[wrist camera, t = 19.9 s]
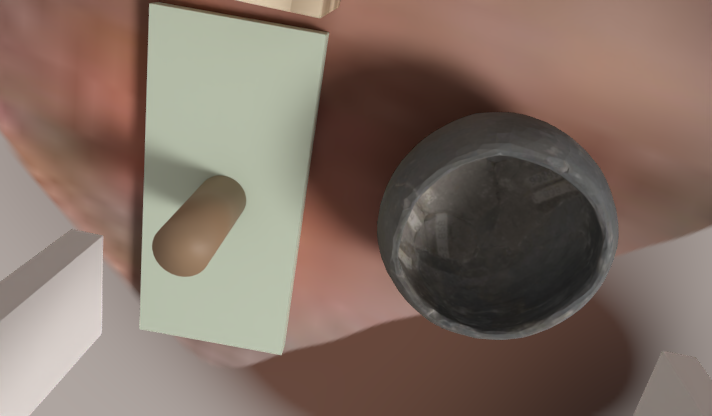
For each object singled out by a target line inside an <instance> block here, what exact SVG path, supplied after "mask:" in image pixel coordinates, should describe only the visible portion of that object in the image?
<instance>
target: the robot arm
mask: <svg viewBox="0 0 712 416" xmlns="http://www.w3.org/2000/svg"><path fill="white" fill-rule="evenodd" d="M102 279H103V235H98V234H93V233H88V232H83V231H78V230H73V229H71V230H70V231H68V232H67V233H66V234H64V235H63V236H62V237H60V238H59V239H57V240H56V241H55V242H53V243H52V244H51V245H49V246H48V247H47V248H45V249H44V250H43V251H41V252H40V253H38V254H37V255H36V256H34V257H33V258H32V259H30V260H29V261H28V262H26V263H25V264H24V265H22V266H21V267H20V268H18V269H17V270H15V271H14V272H13V273H11V274H10V275H9V276H7V277H6V278H5V279H3V280H2V281H1V282H0V416H29V415H30V414H31V413H32V412H33V411H34V410H35V409H36V408H37V406H38V405H39V404H40V403H41V402H42V401H43V400H44V398H45V397H46V396H47V395H48V394H49V393H50V392H51V391H52V389H53V388H54V387H55V386H56V385H57V384H58V383H59V381H60V380H61V379H62V378H63V377H64V376H65V375H66V374H67V372H68V371H69V370H70V369H71V368H72V367H73V366H74V365H75V363H76V362H77V361H78V360H79V359H80V358H81V357H82V355H83V354H84V353H85V352H86V351H87V350H88V349H89V348H90V346H91V345H92V344H93V343H94V342H95V341H96V340H97V338H98V337H99V336H100V335H101V334H102V284H103V283H102V282H103V281H102ZM634 416H712V380H711V378H710V377H709V375H708V374H707V373H706V371H705V370H704V368H703V367H702V365H701V364H700V363H699V361H698V360H697V358H695V357H691V356H686V355H682V354H676V353H671V352H667V351H662V352H661V355H660V357H659V359H658V361H657V364H656V366H655V368H654V370H653V373H652V375H651V377H650V379H649V382H648V384H647V386H646V388H645V391H644V393H643V395H642V398H641V400H640V402H639V404H638V406H637V409H636V411H635V413H634Z"/></svg>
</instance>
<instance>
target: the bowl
mask: <svg viewBox="0 0 712 416" xmlns="http://www.w3.org/2000/svg"><path fill="white" fill-rule="evenodd" d="M377 237H378V244H379V249H380V253H381V257H382V260H383V262H384V265H385V268H386V270H387V272H388V274H389V276H390V277H391V279H392V281H393V282H394V284H395V286H396V287H397V289H398V291H399V292H400V293H401V294H402V296H403V297H404V298H405V299H406V301H407V302H408V303H409V304H410V305H411V306H412V307H413V308H414V309H415V310H417V311H418V312H419V313H420V314H421V315H422V316H424V317H425V318H426V319H428V320H429V321H430V322H432V323H434V324H436V325H438V326H440V327H441V328H444V329H446V330H449V331H452V332H455V333H459V334H462V335H466V336H469V337H473V338H480V339H493V340H505V339H515V338H522V337H526V336H530V335H533V334H536V333H539V332H541V331H544V330H547V329H549V328H551V327H553V326H555V325H557V324H559V323H561V322H562V321H564V320H565V319H567V318H569V317H570V316H572V315H573V314H574V313H576V312H577V311H578V310H580V309H581V308H582V307H583V306H584V305H585V304H586V303H587V302H588V301H589V300H590V299H591V298H592V297H593V295H594V294H595V293H596V292H597V290H598V289H599V288H600V286H601V285H602V283H603V282H604V280H605V278H606V276H607V274H608V272H609V270H610V267H611V265H612V262H613V260H614V256H615V253H616V249H617V244H618V219H617V213H616V207H615V204H614V200H613V197H612V194H611V191H610V188H609V186H608V183H607V181H606V178H605V177H604V175H603V173H602V171H601V169H600V168H599V166H598V165H597V164H596V163H595V161H594V160H593V159H592V158H591V156H590V155H589V154H588V153H587V152H586V151H585V150H584V149H583V148H582V147H581V146H580V145H579V144H578V143H577V142H576V141H575V140H573V139H572V138H571V137H570V136H568V135H567V134H566V133H564V132H562V131H561V130H559V129H558V128H556V127H554V126H552V125H550V124H548V123H546V122H544V121H541V120H539V119H536V118H533V117H530V116H527V115H523V114H518V113H509V112H487V113H476V114H472V115H469V116H466V117H463V118H460V119H458V120H455V121H453V122H451V123H449V124H447V125H445V126H443V127H441V128H440V129H438V130H436V131H435V132H433V133H431V134H430V135H428V136H427V137H426V138H424V139H423V140H422V141H421V142H420V143H418V144H417V145H416V146H415V147H414V148H413V149H412V150H411V151H410V152H409V154H408V155H407V156H406V157H405V158H404V159H403V160H402V161H401V163H400V164H399V165H398V167H397V168H396V170H395V172H394V173H393V175H392V177H391V179H390V181H389V183H388V185H387V187H386V189H385V192H384V195H383V198H382V201H381V205H380V210H379V216H378V221H377Z"/></svg>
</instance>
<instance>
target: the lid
mask: <svg viewBox="0 0 712 416" xmlns="http://www.w3.org/2000/svg"><path fill="white" fill-rule="evenodd" d="M328 36H329V32H323V31H318V30H312V29H307V28H301V27H295V26H290V25H284V24H278V23H273V22H267V21H262V20H256V19H250V18H245V17H239V16H234V15H228V14H222V13H217V12H211V11H205V10H200V9H194V8H189V7H183V6H177V5H172V4H166V3H161V2H155V3H149V30H148V63H147V96H146V129H145V162H144V194H143V227H142V260H141V293H140V326H139V327H140V329H142V330H148V331H153V332H158V333H164V334H169V335H175V336H180V337H186V338H191V339H197V340H202V341H208V342H213V343H218V344H224V345H229V346H235V347H240V348H246V349H251V350H257V351H262V352H267V353H273V354H278V355H282V352H283V349H284V346H285V340H286V332H287V325H288V318H289V311H290V304H291V297H292V290H293V283H294V276H295V269H296V262H297V255H298V248H299V241H300V234H301V227H302V220H303V212H304V205H305V198H306V191H307V184H308V177H309V170H310V163H311V156H312V149H313V142H314V135H315V128H316V121H317V114H318V107H319V100H320V92H321V85H322V78H323V71H324V64H325V57H326V50H327V43H328Z"/></svg>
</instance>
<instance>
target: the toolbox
mask: <svg viewBox="0 0 712 416" xmlns="http://www.w3.org/2000/svg"><path fill="white" fill-rule="evenodd" d="M237 1H241V2H246V3H251V4H255V5H260V6H265V7H269V8H274V9H279V10H283V11H288V12H293V13H297V14H302V15H307V16H311V17H316V18H321V17H323V16H325V15H327V14H328V13H330V12H332V11H333V10H335V9H337V8H338V7H339V5H340V0H237Z"/></svg>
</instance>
